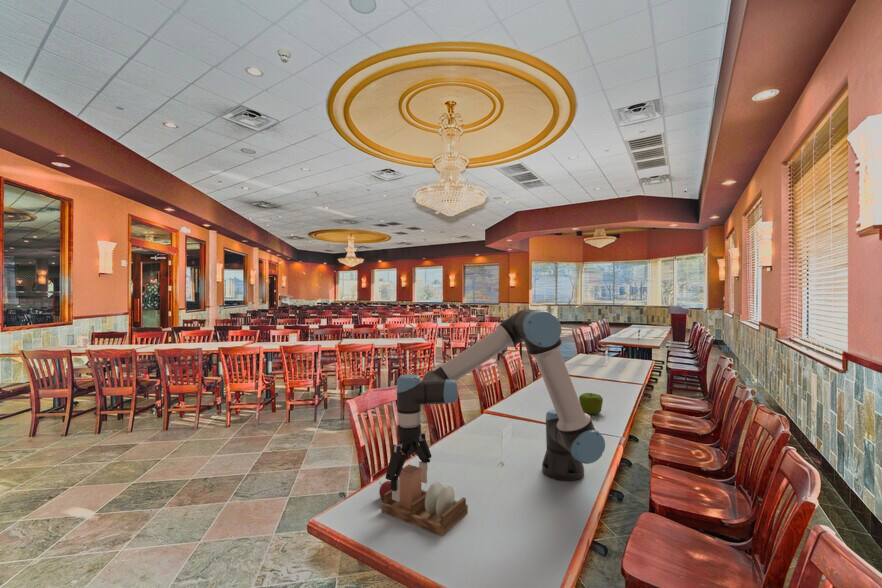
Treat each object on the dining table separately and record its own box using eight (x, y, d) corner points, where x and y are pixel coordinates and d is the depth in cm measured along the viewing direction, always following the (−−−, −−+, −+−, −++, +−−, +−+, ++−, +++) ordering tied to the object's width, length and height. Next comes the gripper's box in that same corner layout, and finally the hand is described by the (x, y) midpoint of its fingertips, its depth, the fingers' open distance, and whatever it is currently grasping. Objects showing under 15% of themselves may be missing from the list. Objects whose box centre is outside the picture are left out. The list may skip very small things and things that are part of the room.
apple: (577, 409, 225) (577, 390, 225) (599, 410, 223) (599, 390, 223) (582, 416, 212) (581, 395, 213) (605, 416, 211) (605, 396, 211)
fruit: (391, 499, 132) (383, 475, 135) (402, 494, 129) (393, 471, 132) (378, 506, 128) (370, 482, 130) (389, 502, 125) (380, 477, 127)
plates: (454, 510, 119) (454, 481, 119) (437, 524, 112) (437, 493, 112) (442, 505, 122) (441, 477, 122) (424, 519, 114) (424, 489, 114)
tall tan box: (409, 497, 127) (408, 464, 127) (422, 502, 124) (421, 468, 124) (398, 505, 123) (398, 470, 123) (411, 510, 120) (411, 474, 120)
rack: (467, 512, 119) (467, 496, 119) (442, 536, 108) (441, 518, 108) (409, 492, 132) (409, 478, 132) (381, 511, 121) (381, 495, 121)
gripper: (423, 412, 136) (424, 472, 136) (372, 433, 115) (374, 504, 115) (440, 415, 132) (442, 478, 131) (391, 438, 111) (392, 512, 111)
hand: (410, 490), depth 123 cm, fingers open, 13 cm apart
